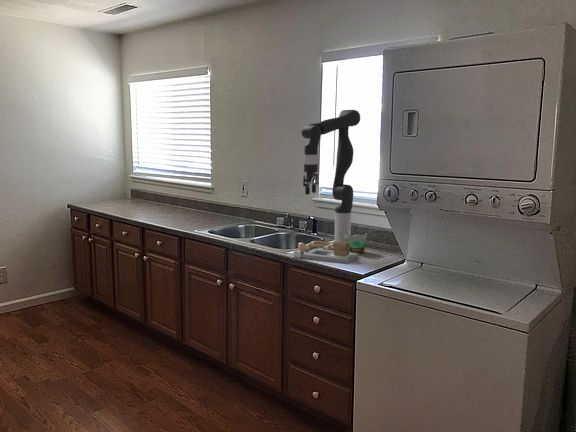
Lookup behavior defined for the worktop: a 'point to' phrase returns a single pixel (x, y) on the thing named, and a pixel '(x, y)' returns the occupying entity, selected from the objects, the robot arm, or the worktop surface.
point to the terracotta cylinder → (301, 247)
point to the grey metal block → (297, 253)
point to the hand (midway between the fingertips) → (310, 193)
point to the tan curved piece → (319, 245)
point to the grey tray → (329, 256)
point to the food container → (356, 243)
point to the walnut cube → (341, 248)
